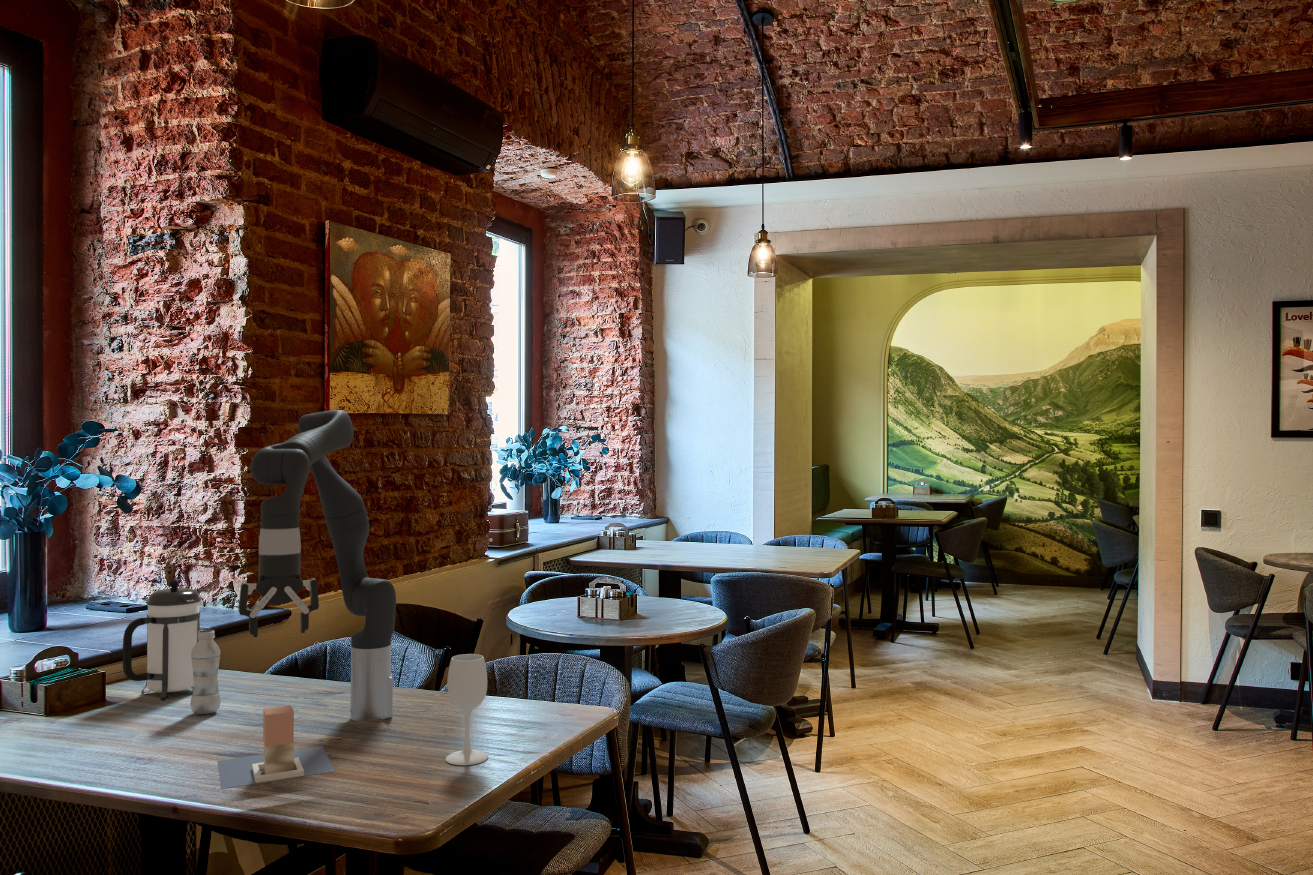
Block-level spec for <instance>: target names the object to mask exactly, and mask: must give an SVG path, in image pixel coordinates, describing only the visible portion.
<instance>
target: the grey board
mask: <svg viewBox="0 0 1313 875" xmlns="http://www.w3.org/2000/svg"><path fill="white" fill-rule="evenodd" d="M217 765H218V766H217V767H218V773H219V781H220V787H221V790H223V789H231V788H236V787H237V788H238V787H242V786H249V785H250V786H251V785H258V784H263V783H264V784H265V783H269V782H275V781H281V780H288V779H296V778H301V777H302V778H303V777H307V776H316V775H319V774H320V775H321V774H328V773H333V772H336V770H335V768H334V765H333V764H332V762H331V760H330V758H329V756H328V754H327V751H326V750H325V748H324V746H316V747H315V746H314V747H310V748H309V747H308V748H302V749H301V748H300V749H294V770H292V771H285V772H278V773H272V774H264V754H259V755H253V756H252V755H251V756H245V757H237V758H230V759H224V760H218V761H217Z"/></svg>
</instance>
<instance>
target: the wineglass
mask: <svg viewBox="0 0 1313 875" xmlns="http://www.w3.org/2000/svg"><path fill="white" fill-rule="evenodd" d="M446 684H447V689H446V690H447V695H448V698H449V701H450V703H451V704H452V705H453V706H454V707H455V708H457V709H459V710H460V711H461V712H463V717H464V742H463V748H462V750H458V751H454V752H452V753H450V754H449V755H447V756H446V757H445V762H446V763H448V764H450V765H453V766H471V765H478V764H481V763H483V762H486V761H487V760H488V759H489V755H488V754H487V753H486V752H484V751H482V750H479V749H478V750H477V749H472V748H471V739H470V738H471V737H470V736H471V735H470V722H471V714H472V712H473V710H475V709H476V708H478V707H479V706H480V705H481V704H482V703H483V701H484V700H485V698H486V695H487V691H488V672H487V666H486V661H485V658H484V655H481V654H478V653H477V654H475V653H467V654H466V653H465V654H464V653H463V654H457V655H454V656H452V657H451V659H450V662H449V668H448V672H447V681H446Z"/></svg>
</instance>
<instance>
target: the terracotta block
mask: <svg viewBox="0 0 1313 875" xmlns="http://www.w3.org/2000/svg"><path fill="white" fill-rule="evenodd" d="M262 711H263V712H262V713H263V717H262V718H263V721H262V724H263V725H262V729H263V731H262V741H263V745H264V744H265V747H267V746H275V745H282V744H289V743H294V744H295V742H294V738H295V736H294V732H295V731H294V730H295V712H294V709H293V707H292V705H291V704H290V705H281V706H273V707H264V708H263V710H262Z"/></svg>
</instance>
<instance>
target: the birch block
mask: <svg viewBox="0 0 1313 875" xmlns="http://www.w3.org/2000/svg"><path fill="white" fill-rule="evenodd" d="M294 750H295V742H294V743H289V744H282V745H275V746H267V747H265V744H264V743H263V755H264V774H272V773H278V772H285V771H292V770H294Z"/></svg>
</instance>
